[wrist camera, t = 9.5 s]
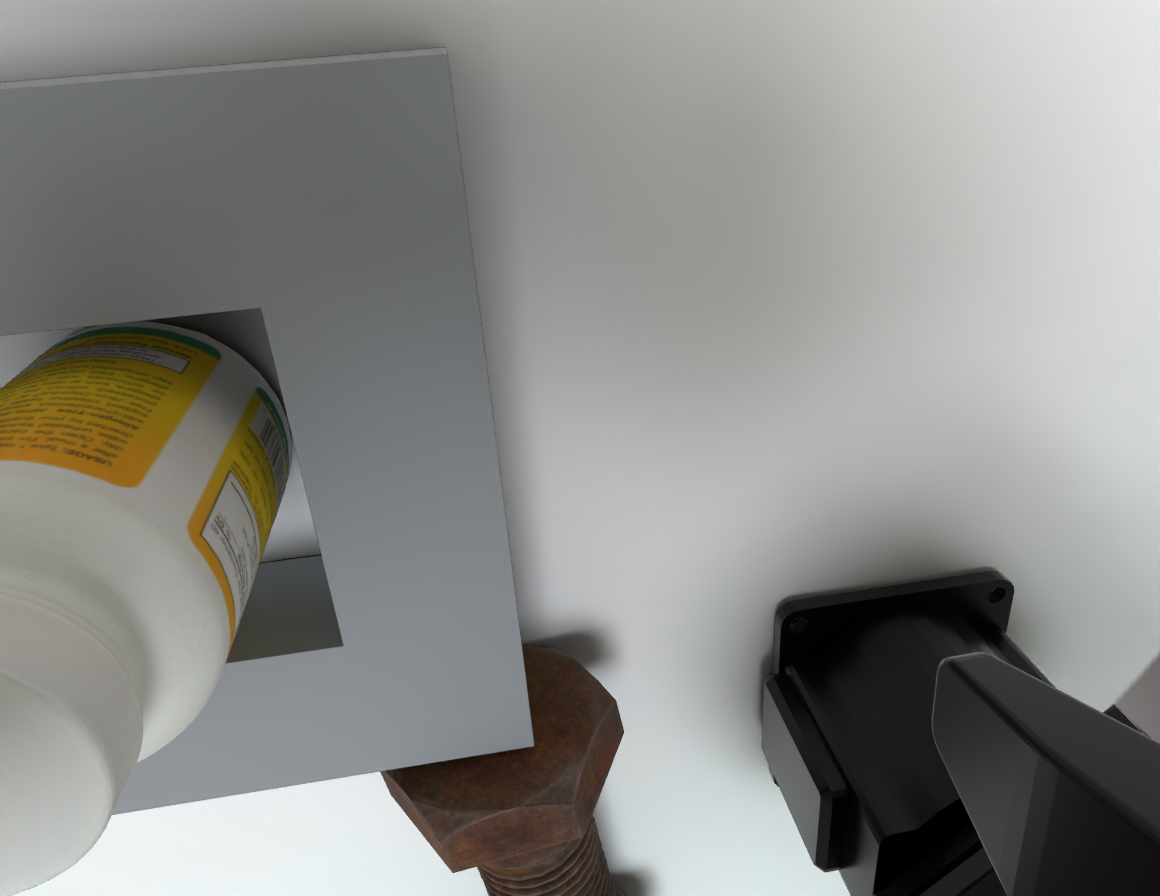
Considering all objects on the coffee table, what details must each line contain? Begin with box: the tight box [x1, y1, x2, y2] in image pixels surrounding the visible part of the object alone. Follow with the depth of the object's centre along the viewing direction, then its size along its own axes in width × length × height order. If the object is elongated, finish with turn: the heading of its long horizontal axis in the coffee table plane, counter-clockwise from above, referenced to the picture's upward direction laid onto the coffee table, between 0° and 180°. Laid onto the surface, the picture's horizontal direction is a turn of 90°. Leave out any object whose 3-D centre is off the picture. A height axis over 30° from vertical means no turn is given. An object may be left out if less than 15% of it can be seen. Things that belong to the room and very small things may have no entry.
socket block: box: [0, 47, 534, 815], centre depth 17 cm, size 14×14×4 cm
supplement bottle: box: [0, 321, 291, 896], centre depth 14 cm, size 5×5×10 cm
